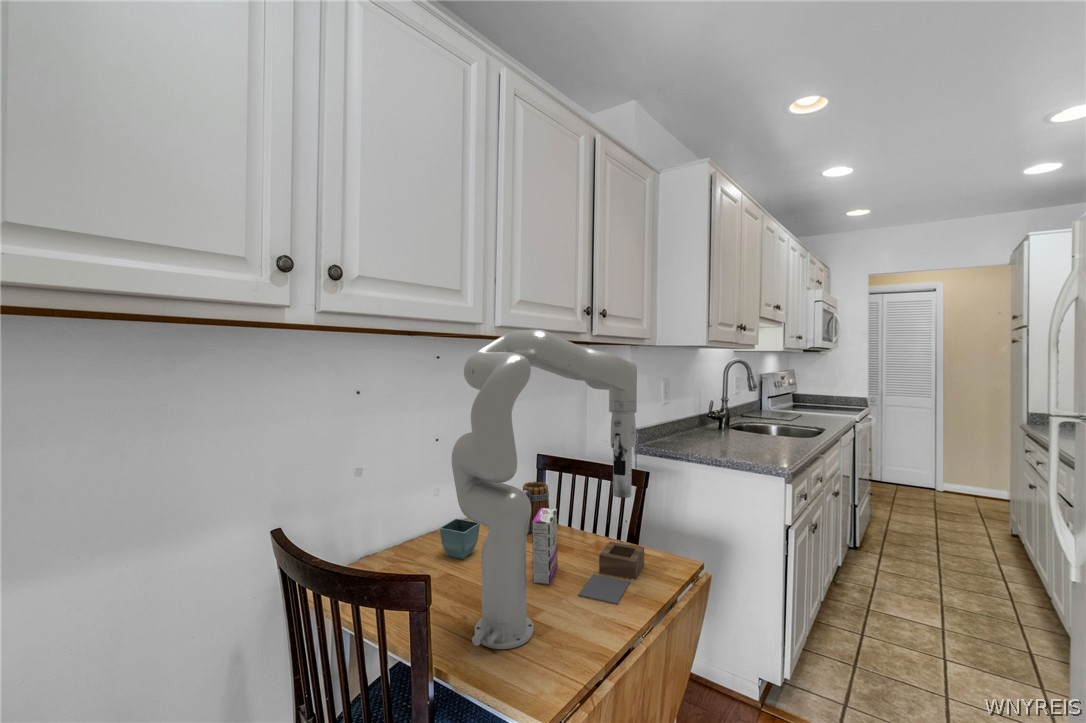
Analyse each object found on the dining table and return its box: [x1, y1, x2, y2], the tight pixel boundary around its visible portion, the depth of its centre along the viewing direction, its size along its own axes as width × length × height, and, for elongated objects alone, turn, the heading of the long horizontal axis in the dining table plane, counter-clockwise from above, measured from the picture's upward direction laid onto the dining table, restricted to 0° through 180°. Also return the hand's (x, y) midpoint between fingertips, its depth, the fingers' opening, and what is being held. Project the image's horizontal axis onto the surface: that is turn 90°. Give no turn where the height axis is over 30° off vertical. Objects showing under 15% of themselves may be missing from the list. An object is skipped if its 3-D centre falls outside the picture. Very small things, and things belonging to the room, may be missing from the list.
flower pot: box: [439, 518, 481, 560], centre depth 143 cm, size 9×9×9 cm
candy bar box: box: [531, 507, 558, 585], centre depth 130 cm, size 11×5×16 cm, turn 168°
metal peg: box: [612, 447, 633, 499], centre depth 133 cm, size 5×5×14 cm
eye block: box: [598, 541, 645, 581], centre depth 134 cm, size 10×10×5 cm
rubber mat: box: [577, 573, 631, 606], centre depth 122 cm, size 12×10×1 cm
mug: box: [522, 481, 550, 534], centre depth 162 cm, size 16×11×15 cm
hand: (622, 471), depth 133 cm, fingers closed on metal peg, 5 cm apart
